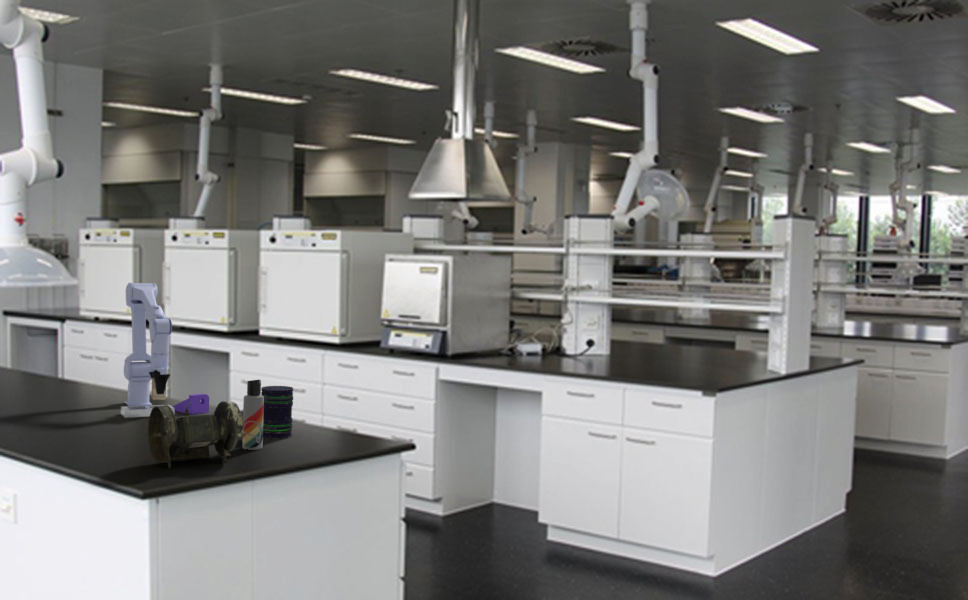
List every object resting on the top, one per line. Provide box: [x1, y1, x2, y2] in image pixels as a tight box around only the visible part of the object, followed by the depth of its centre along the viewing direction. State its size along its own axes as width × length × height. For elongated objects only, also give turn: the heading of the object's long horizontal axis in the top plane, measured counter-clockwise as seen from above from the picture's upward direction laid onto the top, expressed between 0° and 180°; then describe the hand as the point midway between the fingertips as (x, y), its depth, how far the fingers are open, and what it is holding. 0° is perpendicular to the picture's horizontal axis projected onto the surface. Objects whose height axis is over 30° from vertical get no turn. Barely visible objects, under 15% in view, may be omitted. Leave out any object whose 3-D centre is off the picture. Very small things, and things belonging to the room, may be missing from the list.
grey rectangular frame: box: [120, 404, 176, 419], centre depth 321 cm, size 8×16×2 cm, turn 120°
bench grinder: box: [147, 400, 244, 469], centre depth 251 cm, size 20×22×20 cm
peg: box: [150, 378, 167, 401], centre depth 323 cm, size 4×4×7 cm
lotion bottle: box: [241, 379, 264, 451], centre depth 272 cm, size 6×6×20 cm
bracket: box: [171, 393, 210, 415], centre depth 332 cm, size 12×7×7 cm, turn 52°
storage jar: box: [261, 385, 294, 440], centre depth 292 cm, size 10×10×15 cm
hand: (158, 393), depth 323 cm, fingers closed on peg, 4 cm apart
